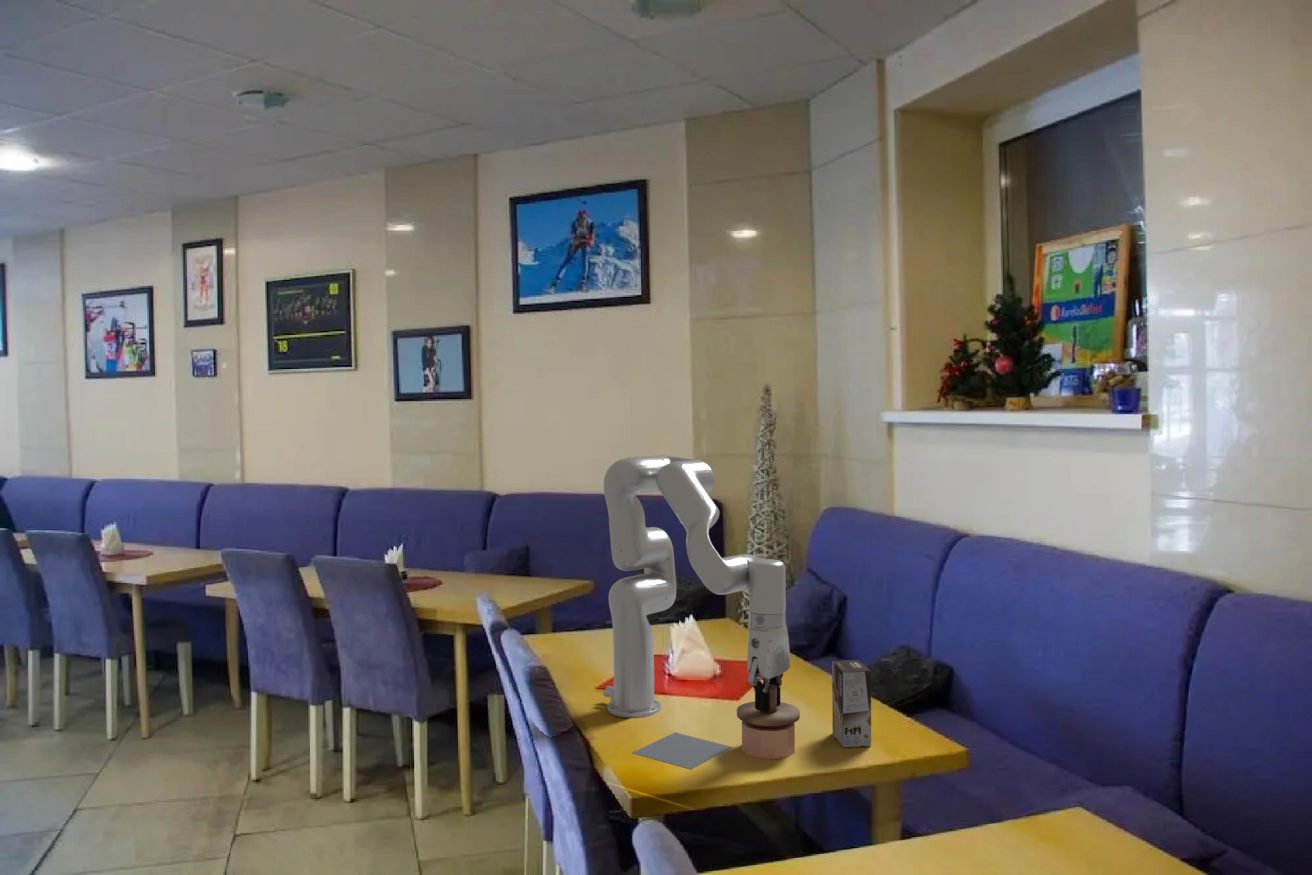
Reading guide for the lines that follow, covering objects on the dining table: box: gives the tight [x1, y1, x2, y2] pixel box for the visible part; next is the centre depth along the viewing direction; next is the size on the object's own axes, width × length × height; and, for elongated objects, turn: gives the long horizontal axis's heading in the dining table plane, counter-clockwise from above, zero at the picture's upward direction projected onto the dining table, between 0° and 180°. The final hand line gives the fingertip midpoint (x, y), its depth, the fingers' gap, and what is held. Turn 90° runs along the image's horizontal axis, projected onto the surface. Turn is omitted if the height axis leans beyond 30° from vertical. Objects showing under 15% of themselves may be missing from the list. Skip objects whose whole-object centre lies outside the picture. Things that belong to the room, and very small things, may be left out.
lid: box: [736, 684, 801, 726], centre depth 195 cm, size 13×13×6 cm
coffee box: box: [831, 659, 872, 748], centre depth 201 cm, size 9×6×16 cm
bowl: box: [741, 720, 796, 760], centre depth 195 cm, size 11×11×6 cm
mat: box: [631, 732, 733, 770], centre depth 195 cm, size 15×15×1 cm
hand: (767, 706), depth 195 cm, fingers closed on lid, 3 cm apart
